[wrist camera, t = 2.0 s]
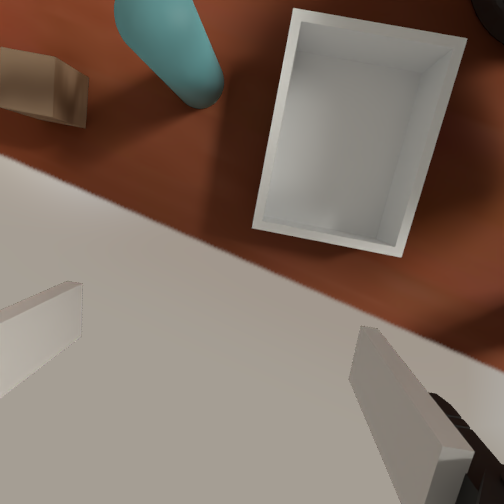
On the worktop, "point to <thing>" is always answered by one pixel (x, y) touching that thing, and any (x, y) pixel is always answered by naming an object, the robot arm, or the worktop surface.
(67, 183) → the worktop surface
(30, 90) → the walnut cube
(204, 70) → the teal cylinder
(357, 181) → the grey tote
